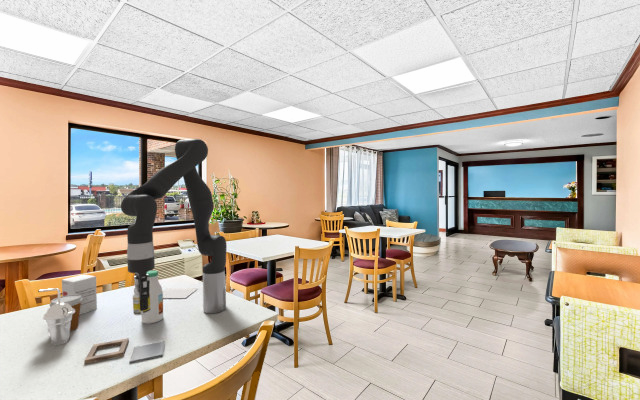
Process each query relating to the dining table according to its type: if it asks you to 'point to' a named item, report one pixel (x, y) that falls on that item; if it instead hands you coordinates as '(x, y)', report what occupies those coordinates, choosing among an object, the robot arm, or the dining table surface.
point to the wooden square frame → (95, 347)
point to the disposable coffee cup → (75, 303)
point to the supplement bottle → (137, 303)
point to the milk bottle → (154, 300)
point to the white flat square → (177, 293)
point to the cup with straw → (59, 320)
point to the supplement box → (82, 291)
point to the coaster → (147, 352)
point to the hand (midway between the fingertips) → (142, 307)
